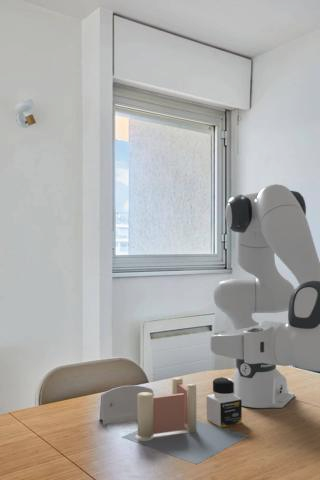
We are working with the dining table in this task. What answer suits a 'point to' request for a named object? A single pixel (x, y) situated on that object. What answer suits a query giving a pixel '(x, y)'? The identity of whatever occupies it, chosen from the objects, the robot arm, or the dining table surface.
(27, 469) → the dining table surface
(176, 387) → the fixed fence
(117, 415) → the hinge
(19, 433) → the dining table surface
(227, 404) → the medicine bottle
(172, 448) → the board
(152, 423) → the swing panel
